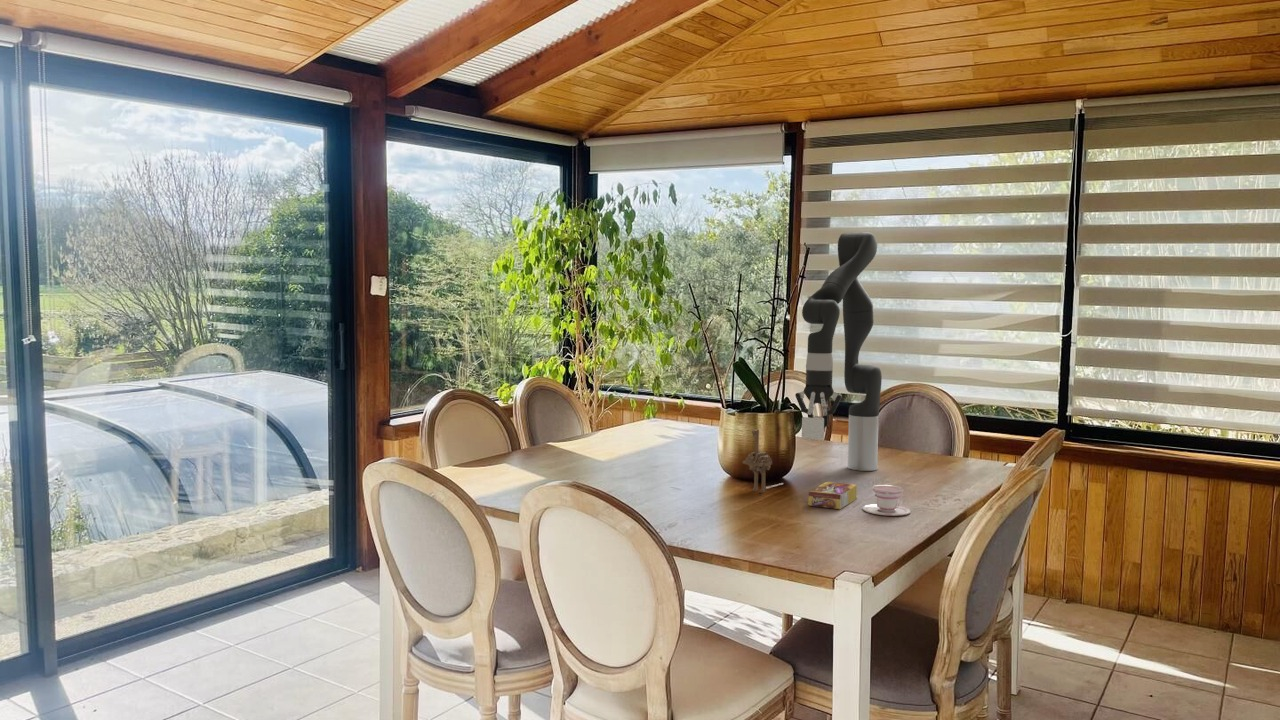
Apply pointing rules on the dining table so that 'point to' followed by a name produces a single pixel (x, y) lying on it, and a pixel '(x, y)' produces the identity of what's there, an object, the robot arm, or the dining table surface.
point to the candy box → (832, 495)
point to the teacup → (887, 501)
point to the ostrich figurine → (759, 464)
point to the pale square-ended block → (813, 428)
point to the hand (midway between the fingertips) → (817, 427)
